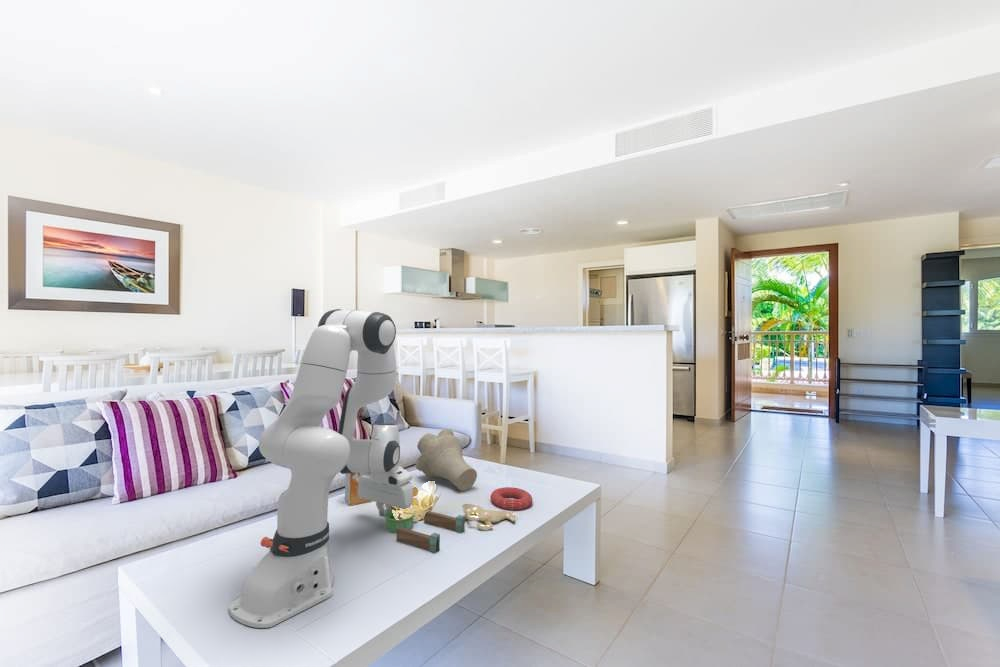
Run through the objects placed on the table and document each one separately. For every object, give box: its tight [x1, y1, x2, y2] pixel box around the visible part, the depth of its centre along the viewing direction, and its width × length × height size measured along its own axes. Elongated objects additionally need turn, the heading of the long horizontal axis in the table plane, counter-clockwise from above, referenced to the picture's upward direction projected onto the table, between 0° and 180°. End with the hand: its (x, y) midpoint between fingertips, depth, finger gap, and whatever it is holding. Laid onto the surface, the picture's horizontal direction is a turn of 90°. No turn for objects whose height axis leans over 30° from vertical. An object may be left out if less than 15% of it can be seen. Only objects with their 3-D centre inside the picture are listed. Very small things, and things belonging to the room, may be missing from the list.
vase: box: [414, 428, 478, 492], centre depth 177 cm, size 23×23×30 cm
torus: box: [490, 486, 533, 511], centre depth 161 cm, size 16×14×4 cm
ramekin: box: [384, 509, 415, 534], centre depth 140 cm, size 9×9×4 cm
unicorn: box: [461, 503, 521, 530], centre depth 147 cm, size 20×4×17 cm
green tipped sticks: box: [396, 510, 466, 554], centre depth 134 cm, size 16×14×4 cm
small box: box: [344, 473, 373, 506], centre depth 160 cm, size 8×6×13 cm
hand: (384, 516), depth 143 cm, fingers closed
